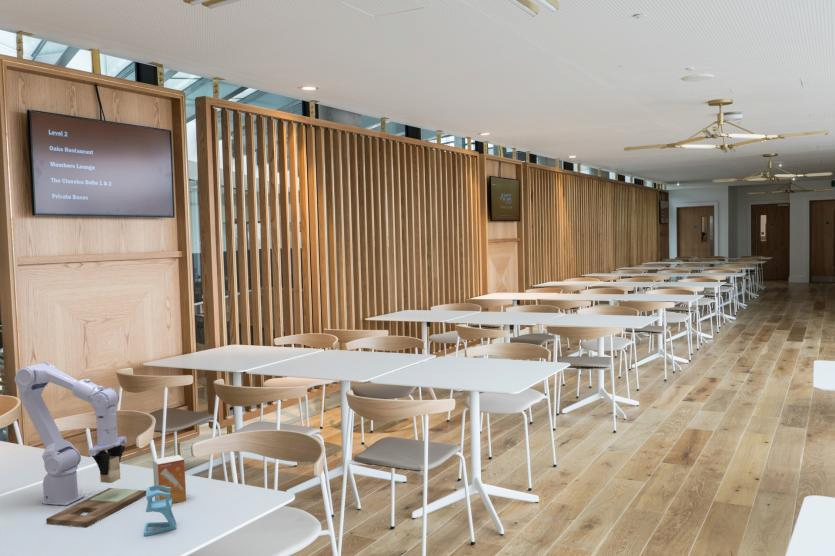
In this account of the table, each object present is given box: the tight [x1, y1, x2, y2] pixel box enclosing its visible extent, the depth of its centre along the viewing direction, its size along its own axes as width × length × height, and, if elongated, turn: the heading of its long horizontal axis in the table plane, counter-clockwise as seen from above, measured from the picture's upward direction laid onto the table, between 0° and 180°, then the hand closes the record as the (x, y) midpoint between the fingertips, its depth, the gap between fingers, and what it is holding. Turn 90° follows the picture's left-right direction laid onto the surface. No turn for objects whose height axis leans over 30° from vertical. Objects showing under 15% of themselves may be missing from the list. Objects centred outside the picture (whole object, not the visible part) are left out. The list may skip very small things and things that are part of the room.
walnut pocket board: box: [45, 487, 146, 528], centre depth 216 cm, size 14×26×2 cm, turn 164°
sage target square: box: [90, 488, 140, 503], centre depth 223 cm, size 10×10×1 cm
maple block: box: [99, 456, 121, 484], centre depth 221 cm, size 4×4×7 cm
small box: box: [152, 454, 187, 504], centre depth 220 cm, size 8×6×13 cm
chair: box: [143, 485, 177, 537], centre depth 198 cm, size 8×8×12 cm
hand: (109, 472), depth 221 cm, fingers closed on maple block, 4 cm apart
